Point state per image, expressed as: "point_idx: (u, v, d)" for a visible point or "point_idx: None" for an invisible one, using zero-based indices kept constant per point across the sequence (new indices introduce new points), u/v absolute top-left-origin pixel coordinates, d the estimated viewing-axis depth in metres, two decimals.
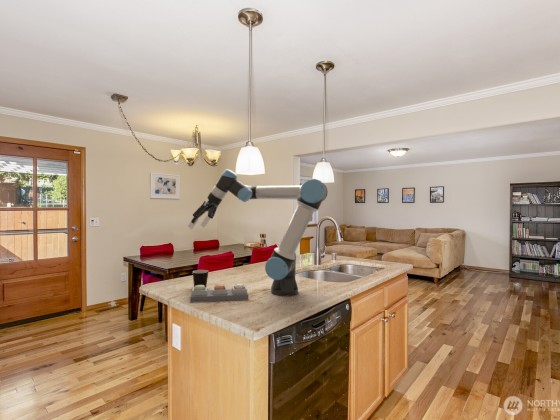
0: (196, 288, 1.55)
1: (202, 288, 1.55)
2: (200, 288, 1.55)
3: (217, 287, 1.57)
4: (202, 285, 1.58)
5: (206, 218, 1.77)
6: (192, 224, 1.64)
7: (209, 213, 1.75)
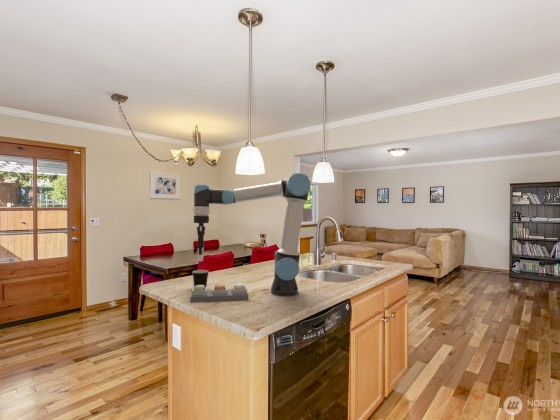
0: (196, 288, 1.55)
1: (202, 288, 1.55)
2: (200, 288, 1.55)
3: (217, 287, 1.57)
4: (202, 285, 1.58)
5: None
6: (201, 256, 1.51)
7: None
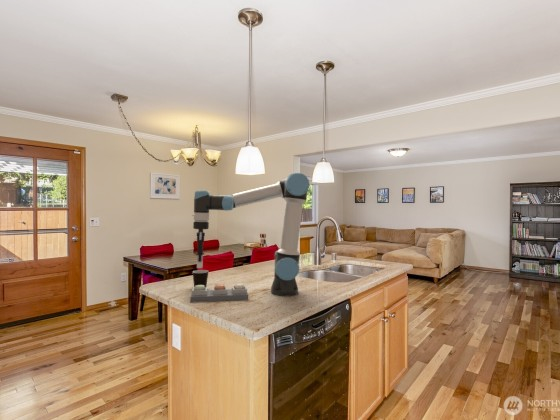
0: (196, 288, 1.55)
1: (202, 288, 1.55)
2: (200, 288, 1.55)
3: (217, 287, 1.57)
4: (202, 285, 1.58)
5: None
6: (200, 263, 1.56)
7: None
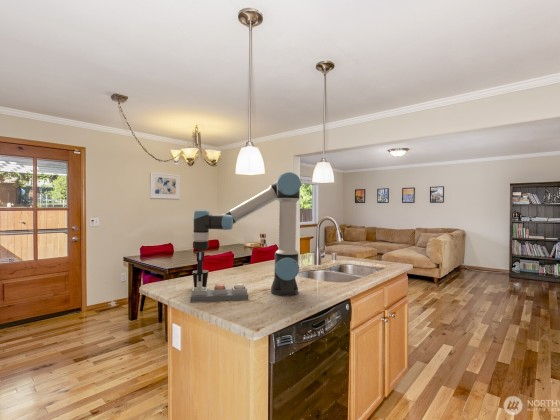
0: (196, 290, 1.55)
1: None
2: None
3: (217, 287, 1.57)
4: (202, 287, 1.58)
5: None
6: (200, 282, 1.56)
7: None
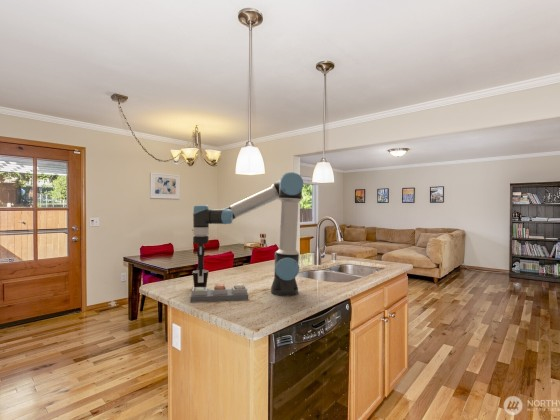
0: None
1: None
2: None
3: (217, 287, 1.57)
4: (202, 288, 1.58)
5: None
6: (201, 277, 1.56)
7: None
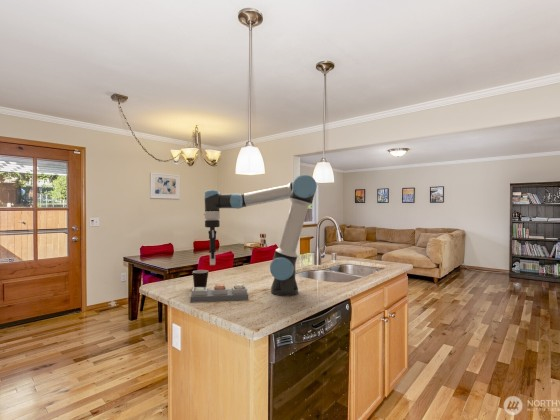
0: None
1: None
2: None
3: (217, 287, 1.57)
4: (202, 288, 1.58)
5: None
6: (213, 260, 1.62)
7: None
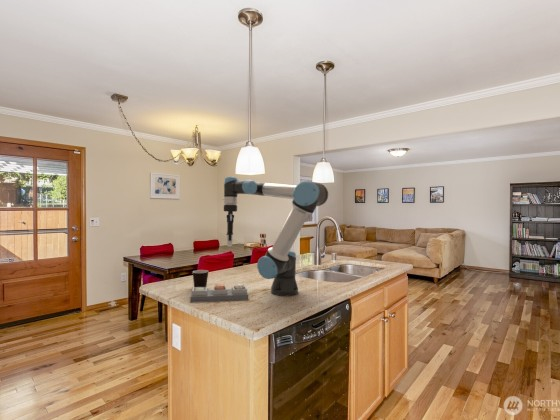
0: None
1: None
2: None
3: (217, 287, 1.57)
4: (202, 288, 1.58)
5: None
6: (230, 242, 1.74)
7: None
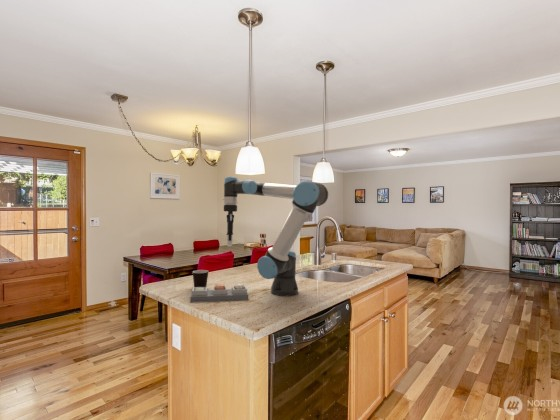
0: None
1: None
2: None
3: (217, 287, 1.57)
4: (202, 288, 1.58)
5: None
6: (230, 242, 1.74)
7: None
